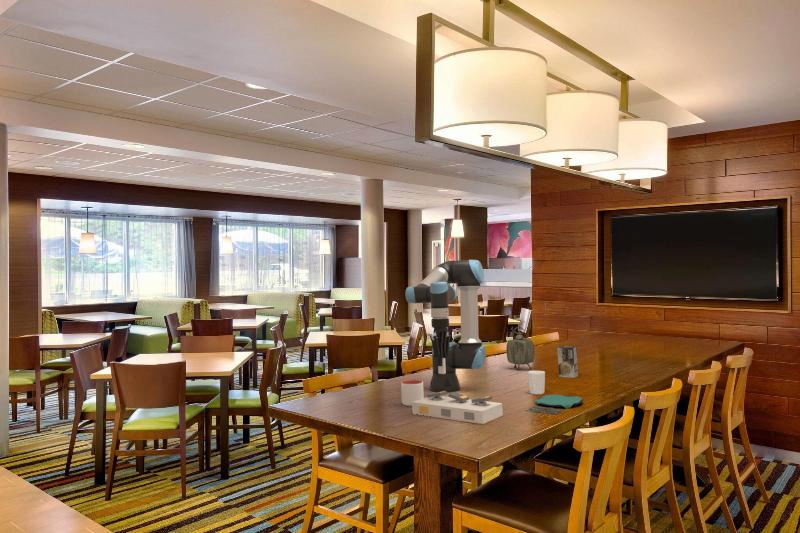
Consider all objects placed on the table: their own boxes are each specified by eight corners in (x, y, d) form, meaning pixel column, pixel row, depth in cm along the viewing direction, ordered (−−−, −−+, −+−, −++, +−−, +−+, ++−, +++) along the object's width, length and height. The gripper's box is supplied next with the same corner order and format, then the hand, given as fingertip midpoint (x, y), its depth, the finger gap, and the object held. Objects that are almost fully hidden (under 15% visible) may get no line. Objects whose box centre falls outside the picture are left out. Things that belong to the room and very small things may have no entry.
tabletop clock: (535, 369, 355) (533, 326, 355) (527, 371, 348) (525, 328, 348) (514, 367, 365) (512, 325, 365) (505, 369, 358) (504, 327, 358)
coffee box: (578, 376, 329) (577, 346, 329) (575, 378, 324) (573, 347, 324) (561, 375, 334) (560, 345, 334) (558, 377, 329) (557, 347, 329)
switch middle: (448, 396, 254) (449, 393, 254) (454, 394, 258) (455, 391, 258) (462, 402, 250) (463, 398, 250) (468, 399, 254) (469, 396, 254)
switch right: (471, 403, 247) (471, 399, 247) (477, 400, 251) (477, 397, 251) (486, 401, 243) (485, 397, 243) (492, 399, 247) (491, 395, 247)
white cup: (546, 394, 285) (545, 373, 285) (528, 394, 286) (528, 373, 286) (545, 391, 293) (544, 370, 293) (528, 391, 294) (527, 370, 294)
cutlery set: (590, 401, 267) (589, 396, 267) (561, 417, 244) (560, 411, 244) (548, 397, 280) (548, 392, 280) (516, 412, 257) (516, 406, 257)
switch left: (427, 397, 261) (427, 394, 261) (434, 395, 265) (433, 392, 265) (440, 395, 257) (440, 392, 257) (447, 393, 260) (446, 390, 261)
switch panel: (412, 414, 256) (411, 400, 256) (434, 406, 269) (433, 393, 269) (482, 424, 235) (481, 409, 235) (502, 415, 248) (502, 401, 248)
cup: (408, 407, 268) (407, 385, 268) (398, 403, 277) (397, 381, 277) (428, 404, 273) (427, 382, 273) (417, 401, 282) (416, 379, 282)
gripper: (438, 319, 252) (440, 376, 251) (455, 316, 262) (457, 371, 262) (424, 319, 256) (426, 375, 256) (441, 316, 266) (443, 370, 266)
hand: (442, 373), depth 259 cm, fingers closed
